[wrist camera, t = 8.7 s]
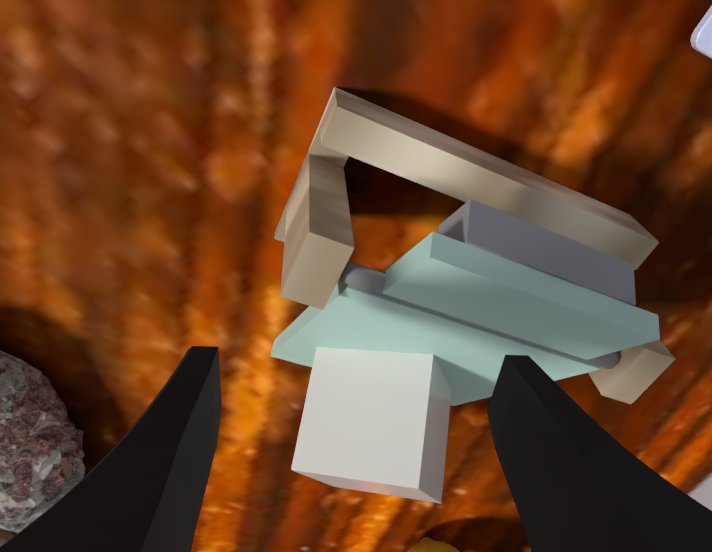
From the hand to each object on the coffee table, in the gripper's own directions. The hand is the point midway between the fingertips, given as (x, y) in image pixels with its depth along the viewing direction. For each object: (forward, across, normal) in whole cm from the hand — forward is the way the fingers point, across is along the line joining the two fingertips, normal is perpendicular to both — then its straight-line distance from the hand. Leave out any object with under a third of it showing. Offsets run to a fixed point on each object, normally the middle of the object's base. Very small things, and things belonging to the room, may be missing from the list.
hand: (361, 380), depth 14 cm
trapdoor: (+8, -4, +3) cm, 9 cm away
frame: (+10, -5, +1) cm, 11 cm away
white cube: (+8, -2, +7) cm, 11 cm away
